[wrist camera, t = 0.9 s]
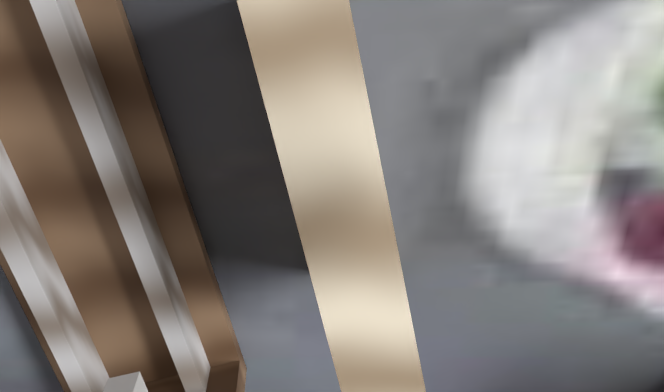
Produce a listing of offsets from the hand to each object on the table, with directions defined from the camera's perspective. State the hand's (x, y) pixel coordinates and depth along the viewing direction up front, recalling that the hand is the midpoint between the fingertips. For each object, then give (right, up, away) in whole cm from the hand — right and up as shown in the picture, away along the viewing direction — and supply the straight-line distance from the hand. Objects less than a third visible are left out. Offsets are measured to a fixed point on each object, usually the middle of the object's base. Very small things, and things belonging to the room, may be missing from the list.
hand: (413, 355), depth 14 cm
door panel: (-2, +7, +20) cm, 22 cm away
